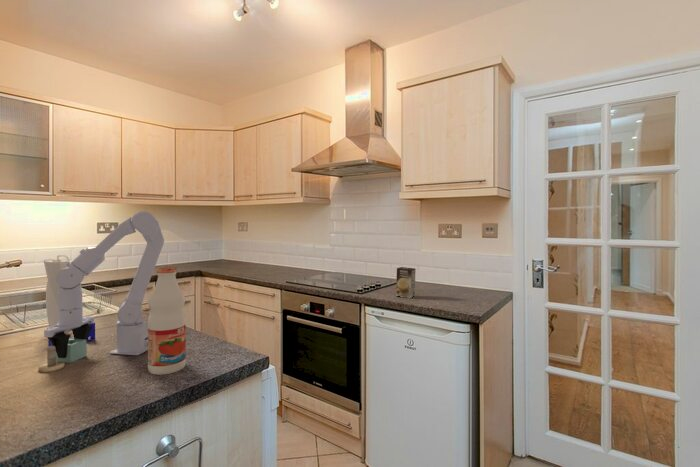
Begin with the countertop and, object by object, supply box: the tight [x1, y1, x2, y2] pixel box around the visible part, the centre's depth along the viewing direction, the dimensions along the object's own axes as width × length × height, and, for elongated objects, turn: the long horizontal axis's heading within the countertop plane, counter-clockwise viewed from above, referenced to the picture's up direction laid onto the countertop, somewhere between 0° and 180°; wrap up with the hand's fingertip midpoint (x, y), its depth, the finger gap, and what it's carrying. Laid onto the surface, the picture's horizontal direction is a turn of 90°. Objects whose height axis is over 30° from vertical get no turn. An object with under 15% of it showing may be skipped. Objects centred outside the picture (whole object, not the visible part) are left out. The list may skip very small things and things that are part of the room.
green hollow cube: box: [56, 338, 88, 364], centre depth 107 cm, size 5×5×5 cm
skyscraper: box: [43, 254, 70, 329], centre depth 135 cm, size 8×8×28 cm
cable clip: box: [47, 322, 96, 348], centre depth 120 cm, size 12×4×6 cm, turn 142°
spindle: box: [37, 346, 66, 373], centre depth 100 cm, size 6×6×6 cm
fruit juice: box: [147, 266, 187, 376], centre depth 101 cm, size 9×9×28 cm
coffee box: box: [395, 266, 417, 299], centre depth 202 cm, size 9×6×16 cm
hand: (71, 353), depth 107 cm, fingers closed on green hollow cube, 5 cm apart
